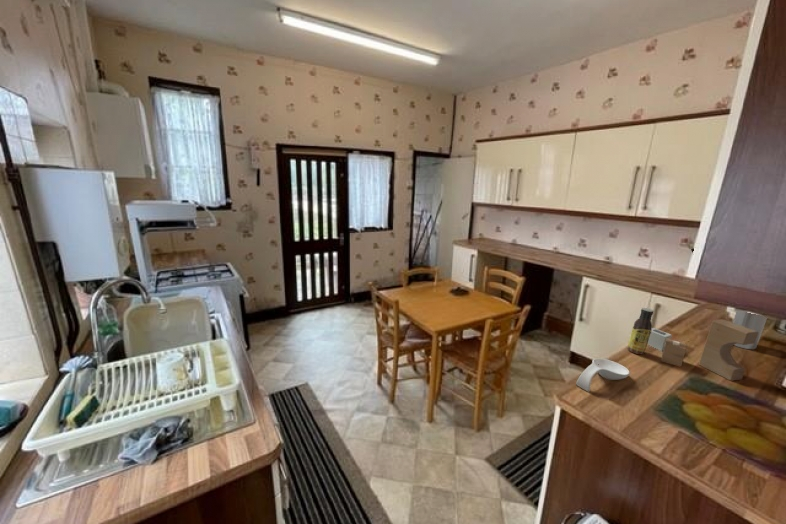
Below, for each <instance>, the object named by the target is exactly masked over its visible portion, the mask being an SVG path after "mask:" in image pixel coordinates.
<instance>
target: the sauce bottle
mask: <svg viewBox="0 0 786 524" xmlns="http://www.w3.org/2000/svg"><path fill="white" fill-rule="evenodd" d="M654 312H655V311H654V310H653V309H651V308H648V307H641V310H640V315H639V318H637V319H636V321H634V324H633V326H632V329H631V333H630V336H629V340H628V343H627V347H628V348H627V347H626V348H627V350H628V351H629V352H630V353H633V354H635V355H644V354H645V352H646V350H647V346H648V345H647V344H648V340H649V337H650V334H651V331H652V328H653V327H652V324H653V323H652V317H653V314H654Z"/></svg>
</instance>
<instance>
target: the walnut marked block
mask: <svg viewBox="0 0 786 524" xmlns="http://www.w3.org/2000/svg"><path fill="white" fill-rule="evenodd" d="M686 352H687V345H686V342H682V341H678V340H673V339H672V338H671V339H666V342H665V346H664V349H663V351H662V354H661V362H664V363H666V364H670V365H674V366H678V367H679V368H680V367H682V364H683V361H684V357H685V354H686Z"/></svg>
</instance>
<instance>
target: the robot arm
mask: <svg viewBox="0 0 786 524" xmlns="http://www.w3.org/2000/svg"><path fill="white" fill-rule="evenodd" d="M694 248H695V247H692V248H690V251H691V252H692V254H693V251H694ZM767 319H768V317H767V318H766V317H763V316H760V315H756V314H751V313H747V312H742V311H737V310H736V311H735V314H734V318H733V321H732V323H735V324H738V325H740V326H743V327H746V328H749V329H752V330H754V331H757V332H758V335H757V338H756V341H755V343H754V344H747V345H742V344H738V343H737V344H734V345H733V346H736V347H737V348H742V349H746V350H755V349H757V346H758V344H759V341H760V338H761V335H762V334H763V330H764V328H765V324H766V322H767Z"/></svg>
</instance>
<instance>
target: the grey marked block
mask: <svg viewBox="0 0 786 524" xmlns="http://www.w3.org/2000/svg"><path fill="white" fill-rule="evenodd" d="M666 339H671V340H672V334H670V333H669V332H665V331H663V330H660V329H658V328H655V327H652V331H651V334H650V337H649V340H648V345H650V346H649V347H651V346H652V347H651V348H653V347H654V348H653V349H655V348H656V349H655V350H657V349H658V351H660V352H663V349H664V346H665V342H666ZM648 345H647V346H648Z"/></svg>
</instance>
